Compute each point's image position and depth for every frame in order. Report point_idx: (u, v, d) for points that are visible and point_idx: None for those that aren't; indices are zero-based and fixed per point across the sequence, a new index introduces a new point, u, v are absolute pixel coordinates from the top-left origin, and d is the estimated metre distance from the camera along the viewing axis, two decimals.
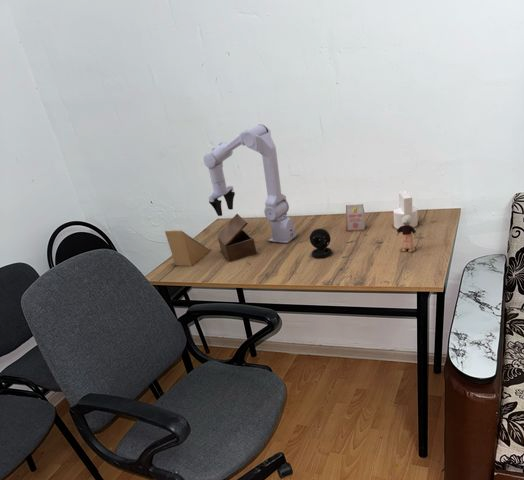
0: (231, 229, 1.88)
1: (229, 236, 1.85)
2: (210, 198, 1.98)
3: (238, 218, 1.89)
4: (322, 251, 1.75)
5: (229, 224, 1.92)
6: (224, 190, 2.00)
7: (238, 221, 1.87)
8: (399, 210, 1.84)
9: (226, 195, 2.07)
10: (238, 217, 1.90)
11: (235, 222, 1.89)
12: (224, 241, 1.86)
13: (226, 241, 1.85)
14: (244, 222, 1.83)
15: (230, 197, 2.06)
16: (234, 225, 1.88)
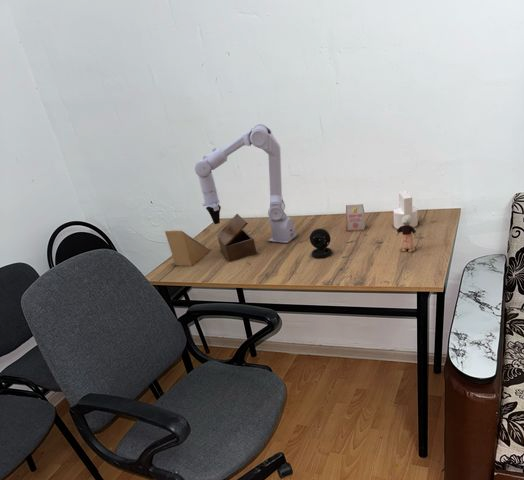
0: (231, 229, 1.88)
1: (229, 236, 1.85)
2: (216, 206, 1.86)
3: (238, 218, 1.89)
4: (322, 251, 1.75)
5: (229, 224, 1.92)
6: None
7: (238, 221, 1.87)
8: (399, 210, 1.84)
9: None
10: (238, 217, 1.90)
11: (235, 222, 1.89)
12: (224, 241, 1.86)
13: (226, 241, 1.85)
14: (244, 222, 1.83)
15: None
16: (234, 225, 1.88)
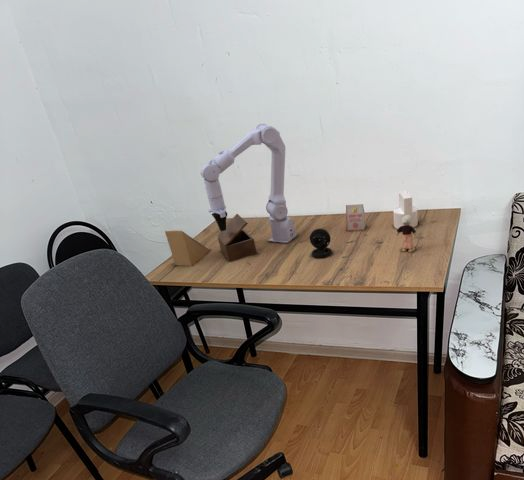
0: (231, 229, 1.88)
1: (229, 236, 1.85)
2: (223, 213, 1.78)
3: (238, 218, 1.89)
4: (322, 251, 1.75)
5: (229, 224, 1.92)
6: (224, 204, 1.83)
7: (238, 221, 1.87)
8: (399, 210, 1.84)
9: None
10: (238, 217, 1.90)
11: (235, 222, 1.89)
12: (224, 241, 1.86)
13: (226, 241, 1.85)
14: (244, 222, 1.83)
15: None
16: (234, 225, 1.88)
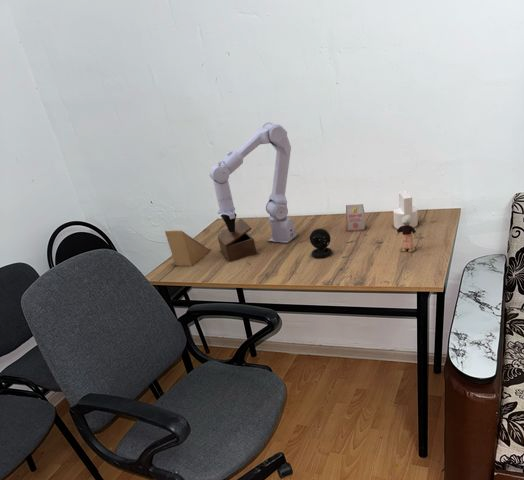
0: None
1: (231, 237, 1.86)
2: (232, 214, 1.78)
3: (242, 223, 1.91)
4: (322, 251, 1.75)
5: None
6: (233, 205, 1.84)
7: (241, 226, 1.89)
8: (399, 210, 1.84)
9: None
10: (242, 222, 1.91)
11: (238, 226, 1.90)
12: (224, 241, 1.86)
13: (227, 241, 1.85)
14: (248, 227, 1.85)
15: None
16: (237, 228, 1.89)
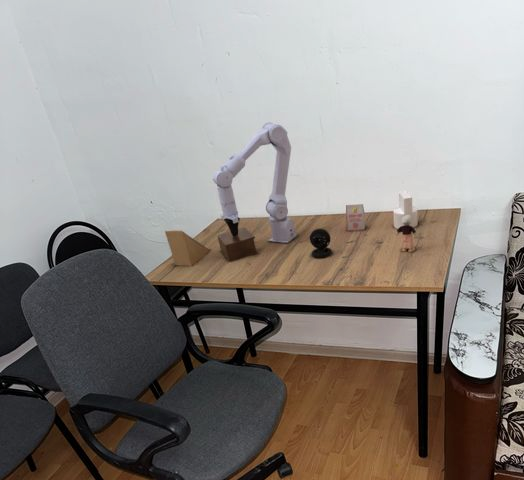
0: (235, 236, 1.90)
1: (232, 240, 1.87)
2: (235, 219, 1.79)
3: (245, 231, 1.93)
4: (322, 251, 1.75)
5: None
6: (236, 209, 1.85)
7: (245, 233, 1.91)
8: (399, 210, 1.84)
9: None
10: (245, 230, 1.93)
11: (241, 232, 1.92)
12: (225, 242, 1.86)
13: (227, 242, 1.85)
14: (252, 236, 1.87)
15: None
16: (239, 234, 1.91)
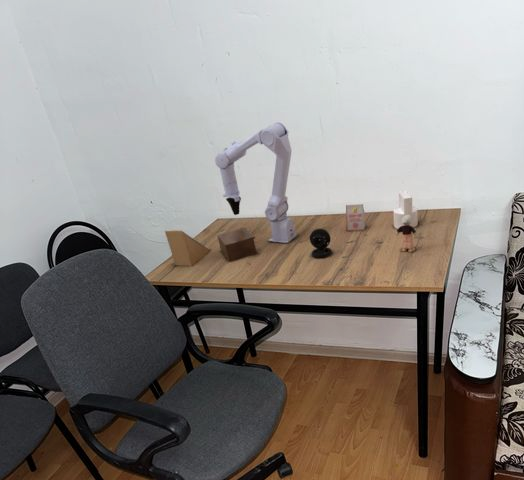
0: (235, 236, 1.90)
1: (232, 240, 1.87)
2: (237, 197, 1.91)
3: (245, 231, 1.93)
4: (322, 251, 1.75)
5: (234, 232, 1.94)
6: None
7: (245, 233, 1.91)
8: (399, 210, 1.84)
9: None
10: (245, 230, 1.93)
11: (241, 232, 1.92)
12: (225, 242, 1.86)
13: (227, 242, 1.85)
14: (252, 236, 1.87)
15: (237, 200, 1.99)
16: (239, 234, 1.91)
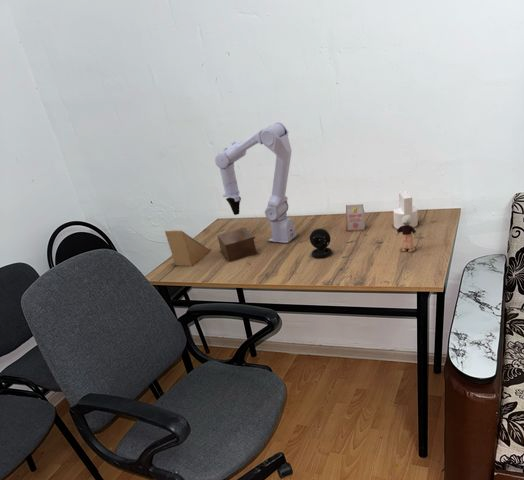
0: (235, 236, 1.90)
1: (232, 240, 1.87)
2: (237, 197, 1.91)
3: (245, 231, 1.93)
4: (322, 251, 1.75)
5: (234, 232, 1.94)
6: None
7: (245, 233, 1.91)
8: (399, 210, 1.84)
9: None
10: (245, 230, 1.93)
11: (241, 232, 1.92)
12: (225, 242, 1.86)
13: (227, 242, 1.85)
14: (252, 236, 1.87)
15: (237, 200, 1.99)
16: (239, 234, 1.91)
